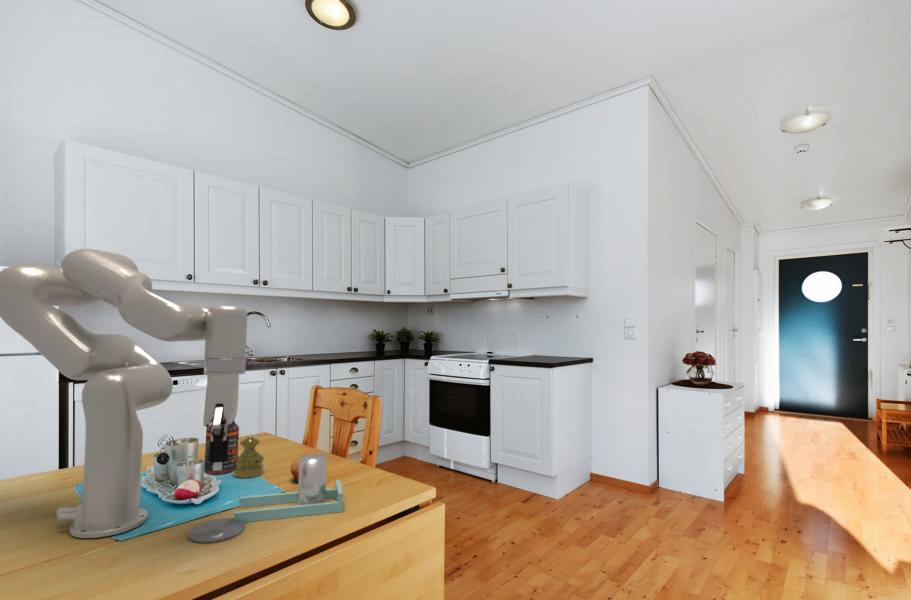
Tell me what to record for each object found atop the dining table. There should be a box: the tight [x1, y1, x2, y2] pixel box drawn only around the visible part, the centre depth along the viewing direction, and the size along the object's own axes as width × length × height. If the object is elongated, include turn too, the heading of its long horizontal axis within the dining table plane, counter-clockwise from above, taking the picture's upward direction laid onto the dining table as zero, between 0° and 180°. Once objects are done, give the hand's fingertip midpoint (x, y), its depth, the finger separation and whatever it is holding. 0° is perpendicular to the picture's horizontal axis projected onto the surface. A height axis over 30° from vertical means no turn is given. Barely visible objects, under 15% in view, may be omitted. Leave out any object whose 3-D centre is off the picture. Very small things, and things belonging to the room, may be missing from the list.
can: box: [297, 453, 328, 505], centre depth 105 cm, size 6×6×11 cm
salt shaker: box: [233, 436, 265, 479], centre depth 126 cm, size 7×8×10 cm
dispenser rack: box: [233, 479, 344, 523], centre depth 103 cm, size 22×10×4 cm, turn 108°
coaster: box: [187, 517, 246, 544], centre depth 91 cm, size 10×10×1 cm
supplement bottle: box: [203, 418, 240, 476], centre depth 92 cm, size 6×6×11 cm
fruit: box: [290, 452, 317, 482], centre depth 123 cm, size 8×8×8 cm
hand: (221, 456), depth 92 cm, fingers closed on supplement bottle, 6 cm apart
